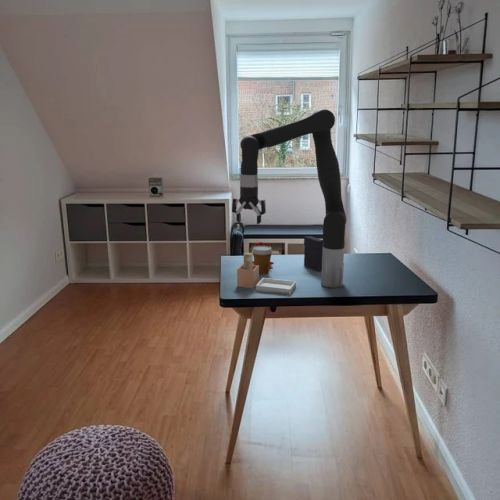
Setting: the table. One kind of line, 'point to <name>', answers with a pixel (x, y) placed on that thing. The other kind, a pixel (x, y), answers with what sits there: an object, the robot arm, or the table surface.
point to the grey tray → (276, 286)
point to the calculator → (313, 253)
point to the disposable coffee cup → (262, 258)
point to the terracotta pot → (247, 277)
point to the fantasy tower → (264, 245)
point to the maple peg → (248, 261)
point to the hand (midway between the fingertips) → (248, 223)
